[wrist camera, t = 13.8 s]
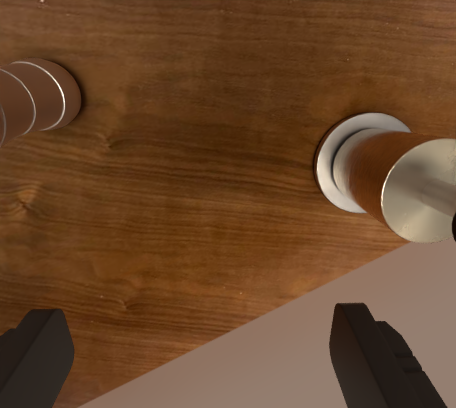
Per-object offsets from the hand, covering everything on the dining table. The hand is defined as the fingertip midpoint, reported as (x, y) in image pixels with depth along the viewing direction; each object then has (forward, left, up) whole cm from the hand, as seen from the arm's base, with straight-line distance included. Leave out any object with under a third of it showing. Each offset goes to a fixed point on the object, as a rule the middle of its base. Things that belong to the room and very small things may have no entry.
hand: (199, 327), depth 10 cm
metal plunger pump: (+4, +16, -27) cm, 32 cm away
